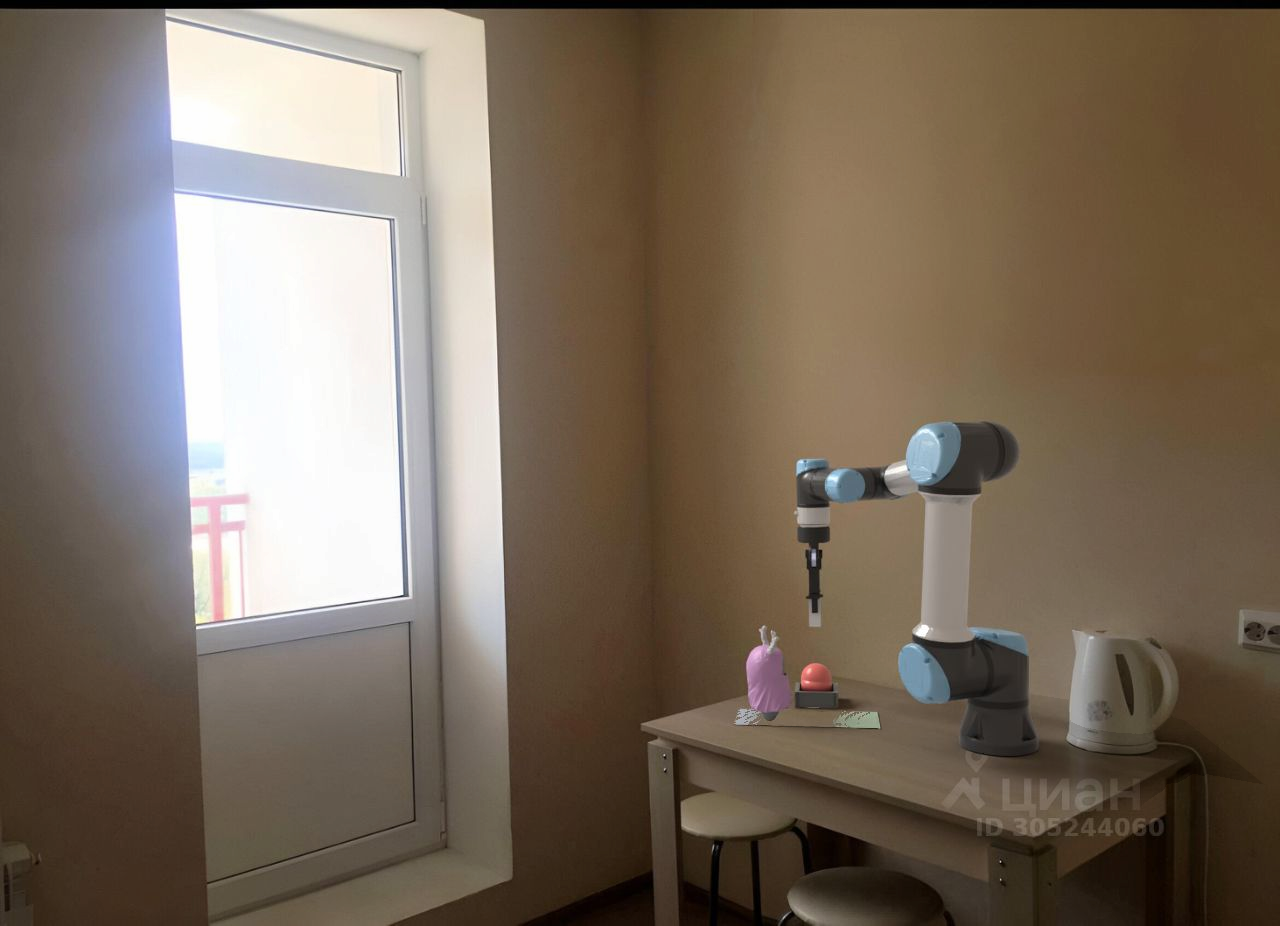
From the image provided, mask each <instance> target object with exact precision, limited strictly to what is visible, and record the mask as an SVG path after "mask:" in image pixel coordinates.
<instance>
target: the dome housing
mask: <svg viewBox="0 0 1280 926" xmlns="http://www.w3.org/2000/svg"><path fill="white" fill-rule="evenodd" d="M838 686H839V685H838V682H832V690H831V691H829V692H819V691H803V690H802V689H801V681H795V686H794V708H795V707H819V708H838V709H839V687H838Z"/></svg>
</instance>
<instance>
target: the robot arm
mask: <svg viewBox="0 0 1280 926" xmlns="http://www.w3.org/2000/svg"><path fill="white" fill-rule="evenodd" d="M1020 457H1021V446H1020V443H1019V440H1018V438H1017V436H1016V435H1015V434H1014V432H1012V431H1011V430H1010V428H1008V427H1007V426H1005V425H1003V424H1001V423H998V422H995V421H940V422H934V423H932V422H931V423H928V424H925V425H923V426H921V427H920V428H919V429H918V430H917V431H916V433H914V434H913V435H912V437H911V438H910V441H909V443H908V445H907V448H906V454H905V459H904V460H903V459H902V460H900V461H899V460H898V461H896V462H892V463H890V464H886V465H882V466H872V467H871V466H870V467H868V466H867V467H844V468H842V467H840V468H836V467H835V468H830V462H829V461H828V459H827V458H803V459H799V460H798V461H797V462H796V475H795V479H796V480H795V481H796V483H795V485H796V486H795V487H796V506H797V507H796V510H795V511H794V515H795V516H797V517H796V518H797V519H796V521H797V522H796V523H797V524H799V526H797V527H796V529H797V530H796V532H797V533H796V534H797V536H796V537H797V542H798V543H801V544H808V549H805V552H804V553H805V559H806V570H807V571H808V595H806V596H805V599H806V600H808V627H811V628H815V627H816V628H817V627H818V628H821V627H822V617H821V616H822V613H821V612H822V611H821V610H822V607H821V598H823V597H824V593H821V583H820V582H821V581H820V580H821V579H820V577H821V575H820V570H822V569H823V568H822V565H823V564H822V560H823V549H820V544H826V543H829V542H830V541H831V527H830V526H829V524H830V523H831V507H830V506H831V505H830V502H832V503H833V502H835V503H838V504H851V503H855V502H863V501H873V500H874V501H880V500H890V501H891V500H898V499H905V498H907V497H909V494H913V493H919V495H921V497H922V498H923V499H924V502H925V508H924V509H925V511H924V512H925V513H924V532H923V537H924V538H923V556H922V557H923V558H922V559H923V560H922V564H923V565H922V584H921V586H922V587H921V605H920V607H921V609H920V610H921V611H920V613H921V614H920V622H919V623H918V624H917V625H915V627H914V628H912V632H911V633H912V634H911V635H912V636H911V637H912V639H911V642H910V643H909V644H905V645H904V646H903V647H902V649H901V650H900V652H899V654H898V659H897V662H898V663H897V665H898V671H899V675H900V678H901V682H902V683H903V686H905V688H906V690H907V692H908V693H909V694H910V695H911V696H912V697H913V699H915V701H918V702H920V703H923V704H926V705H928V704H941V705H942V704H946V703H950V702H956V701H961V700H967V702H966V703H967V704H966V709H965V711H964V714H963V718H962V720H961V723H960V727H959V729H958V744H959V746H960V747H962V748H964V749H966V750H969V751H972V752H973V753H979V754H983V753H984V754H983V755H991V756H1002V757H1014V756H1015V757H1019V756H1025V755H1026V756H1027V755H1030V754H1033V753H1035V752H1037V751H1038V750H1039V749H1040V745H1039V743H1040V742H1039V741H1040V740H1039V734H1038V730H1037V728H1036V725H1035V723H1034V720H1033V717H1032V714H1031V711H1030V705H1029V704H1030V703H1029V686H1030V684H1029V683H1030V681H1029V680H1030V679H1029V678H1030V677H1029V676H1030V675H1029V670H1030V669H1029V660H1030V659H1029V657H1030V654H1029V649H1028V647H1029V646H1028V640H1027V638H1026V637H1025V636H1024V635H1023V634H1022V633H1019V632H1016V631H1015V632H1014V631H1011V630H1005V629H999V628H992V627H982V626H981V627H979V626H978V627H977V626H972V627H970V626H968V612H969V611H968V610H969V608H968V607H969V590H970V589H969V588H970V587H969V586H970V583H969V582H970V568H971V567H970V565H971V564H970V563H971V562H970V561H971V543H972V542H971V541H972V540H971V538H972V519H973V518H972V517H973V503H974V502H975V501H976V500H977V499H979V497H980V496H981V495H982V484H983V483H986V482H987V483H988V482H993V481H994V482H995V481H998V480H1002V479H1004V478H1006V477H1008V476H1009V475H1010V474H1011V473H1013V471H1015V469H1016V468H1017V466H1018V465H1019V462H1020Z"/></svg>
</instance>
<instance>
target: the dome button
mask: <svg viewBox="0 0 1280 926" xmlns="http://www.w3.org/2000/svg"><path fill="white" fill-rule="evenodd" d="M832 679H833V678H832V674H831V671H830V670H829V669H828V667H827V666H825V665H824V664H821V663H818V662H817V663H815V662H813V663H810V664H808V665H807V666H805V667H804V669H803V670H802V671H801V675H800V680H801V681H800V682H801V689H802V690H803V691H819V692H829V691H831V690H832V683H833V682H832Z"/></svg>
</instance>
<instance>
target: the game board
mask: <svg viewBox="0 0 1280 926" xmlns="http://www.w3.org/2000/svg"><path fill="white" fill-rule="evenodd" d="M739 709H740V710H739ZM739 709H738V711H740V712H738V711H737V714H739V713H741V714H739V715H737V714H736V718H737V717H742V718H740V719H738V720H736V718H735V721H734V724H736V725H735V726H742V725H748V724H749V722H750V721H753V720H754V719H756V718H757V717H758V716H757V715H756V714H759V713H761V712H759V711H758V712H756V711H751V710H754V709H752V708H739ZM747 709H749V710H747ZM747 711H750V712H748V713H745V712H747ZM846 711H847V710H846ZM846 711H844V712H846ZM755 712H756V713H755ZM854 712H855V711H852V712H850V713H849V714H848V713H847V714H846V715H845V714H844V715H843V716H842V717H841V715H840V716H839V718H838V719H837V720H836V721H835V719H836V718H835V719H834V720H833V722H834V721H835V722H834V723H833V724H835V723H841V724H842V725H841V726H839V725H837V726H836V725H835V726H836V727H846V728H845V729H848V728H847V727H848V726H849V727H851V728H850V729H857V728H878V729H877V730H881V724H880V719H879V714H878V713H879V712H878V711H858V712H859V714H857V713H856V715H855V716H854V714H853V716H852V717H851V718H850V716H849V718H848V719H847V720H846V721H845V718H846V717H847V716H848V715H850V714H852V713H854ZM860 712H862V713H860ZM868 712H870V714H869V713H868ZM752 713H754V714H752ZM842 713H843V712H842ZM866 713H868V714H867V715H866ZM745 714H748V715H746V716H744V715H745ZM864 714H865V715H864ZM754 715H755V716H754ZM761 715H762V714H761ZM862 715H864V716H863V717H862ZM743 716H744V717H743ZM750 716H753V717H751V718H749V719H747V717H750ZM759 716H760V715H759ZM860 716H861V717H860ZM859 717H860V719H859V720H858V718H859ZM745 719H747V720H745ZM760 720H762V719H760ZM760 720H759V721H760ZM746 721H748V722H746ZM759 721H757V722H755V723H753V724H756V723H758V722H759ZM735 722H736V723H735ZM744 722H746V723H744ZM765 722H766V721H765ZM822 722H823V721H822ZM845 723H846V725H847V726H846V725H844V724H845ZM858 723H859V724H858ZM734 724H733V725H734ZM756 725H757V724H756Z"/></svg>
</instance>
